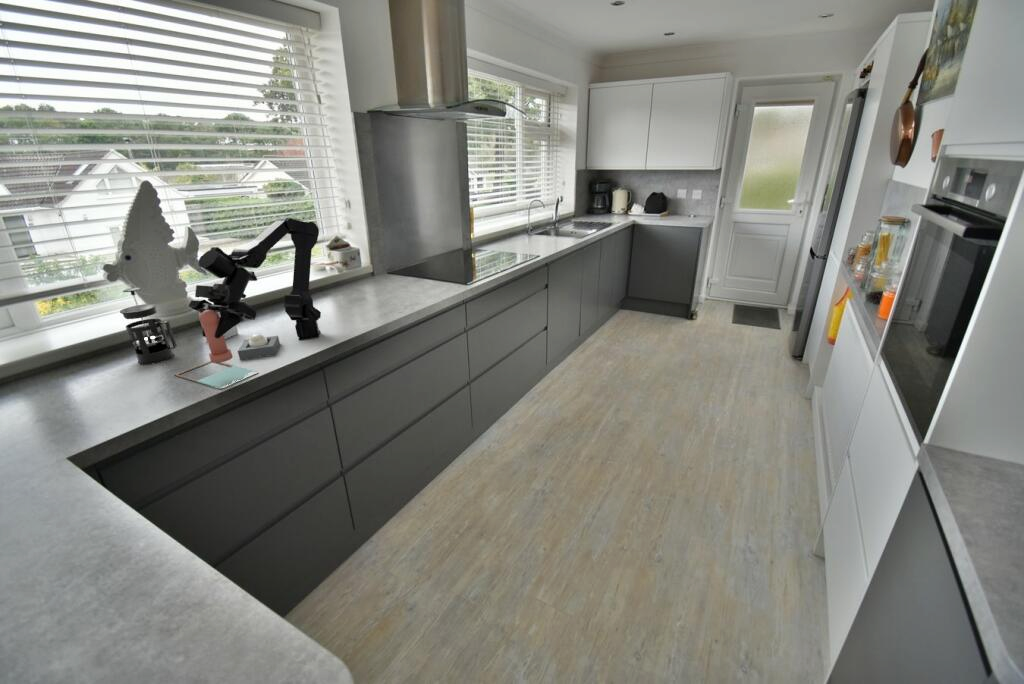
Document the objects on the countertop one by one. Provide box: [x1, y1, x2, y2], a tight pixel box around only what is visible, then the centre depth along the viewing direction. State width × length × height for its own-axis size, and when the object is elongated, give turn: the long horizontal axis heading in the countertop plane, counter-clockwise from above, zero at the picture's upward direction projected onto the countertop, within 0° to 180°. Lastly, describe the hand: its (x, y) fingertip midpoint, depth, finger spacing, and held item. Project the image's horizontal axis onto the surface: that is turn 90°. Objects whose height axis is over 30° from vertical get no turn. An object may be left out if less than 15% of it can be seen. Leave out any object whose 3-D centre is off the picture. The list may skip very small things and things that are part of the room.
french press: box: [119, 287, 178, 365], centre depth 141 cm, size 12×9×23 cm
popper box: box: [237, 335, 281, 360], centre depth 147 cm, size 10×10×3 cm
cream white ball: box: [249, 333, 268, 347], centre depth 146 cm, size 5×5×5 cm
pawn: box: [198, 310, 233, 364], centre depth 125 cm, size 5×5×14 cm
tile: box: [196, 365, 256, 388], centre depth 130 cm, size 11×11×1 cm
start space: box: [174, 360, 234, 383], centre depth 135 cm, size 11×11×1 cm
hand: (210, 337), depth 124 cm, fingers closed on pawn, 4 cm apart
